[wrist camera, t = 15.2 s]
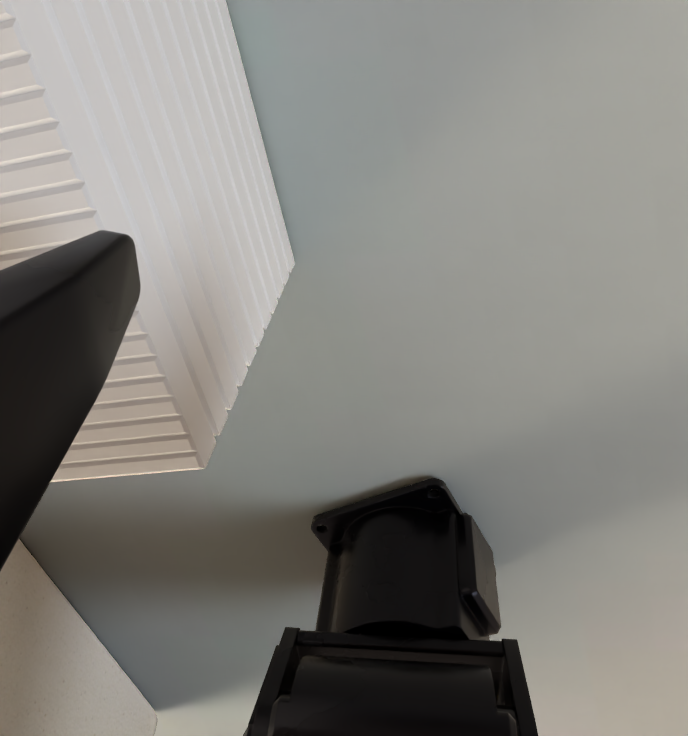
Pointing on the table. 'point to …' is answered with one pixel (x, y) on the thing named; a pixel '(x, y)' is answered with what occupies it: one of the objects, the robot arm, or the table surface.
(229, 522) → the table surface
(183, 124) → the white ridged block
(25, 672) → the box
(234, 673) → the table surface
